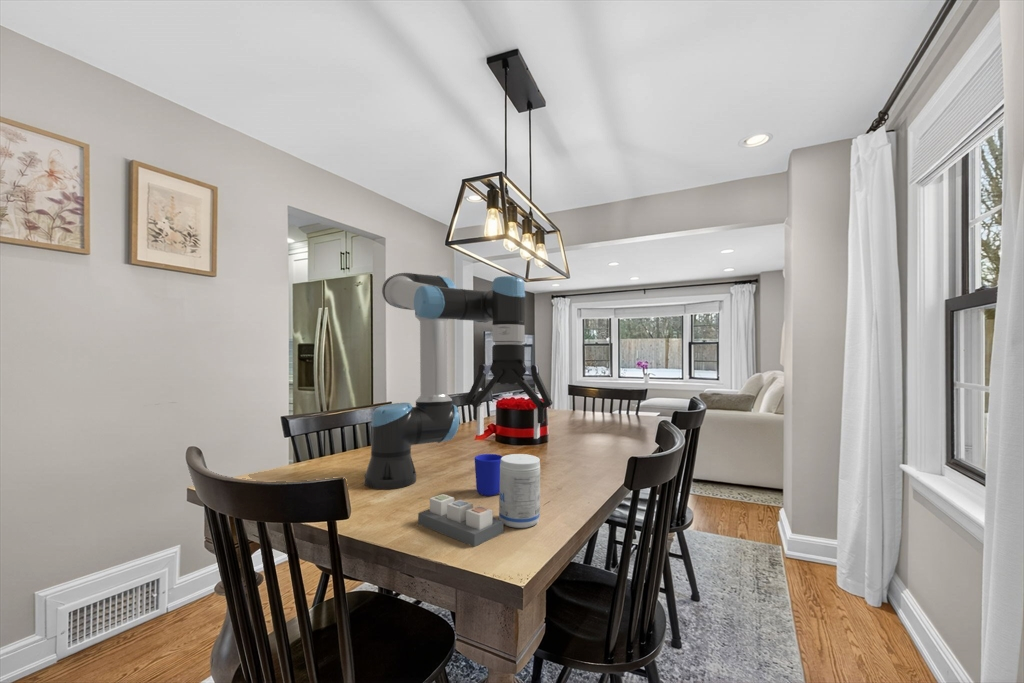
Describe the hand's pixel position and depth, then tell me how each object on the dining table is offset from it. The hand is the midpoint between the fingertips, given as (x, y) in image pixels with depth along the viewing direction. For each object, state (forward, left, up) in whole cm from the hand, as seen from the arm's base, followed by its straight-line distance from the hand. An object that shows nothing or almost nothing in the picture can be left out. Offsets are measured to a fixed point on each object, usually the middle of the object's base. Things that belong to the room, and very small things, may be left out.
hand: (508, 436), depth 99 cm
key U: (-7, -8, -18) cm, 21 cm away
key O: (-1, -8, -18) cm, 20 cm away
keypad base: (-7, -8, -20) cm, 23 cm away
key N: (-13, -8, -18) cm, 24 cm away
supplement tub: (+1, +4, -21) cm, 21 cm away
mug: (-17, +15, -21) cm, 31 cm away
